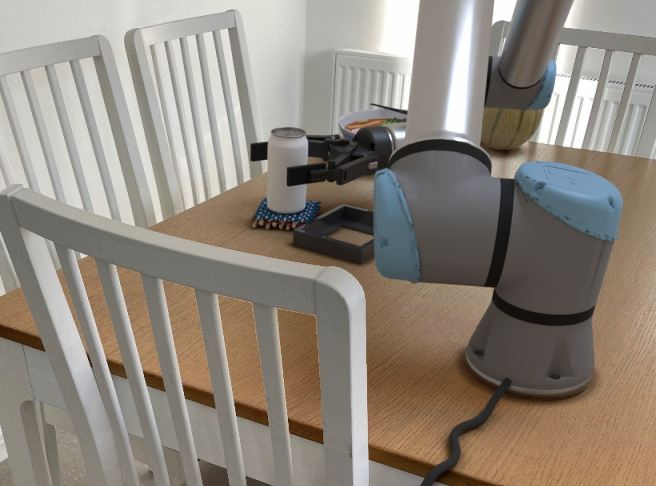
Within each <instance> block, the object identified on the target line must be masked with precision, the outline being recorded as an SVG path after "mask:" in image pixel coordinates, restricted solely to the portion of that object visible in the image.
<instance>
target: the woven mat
mask: <svg viewBox="0 0 656 486" xmlns="http://www.w3.org/2000/svg"><path fill="white" fill-rule="evenodd" d="M321 205H322V201H315V200H312V199H310V200H306V204H305V208H304V209H303V210H302V211H301V212H299V213H295V214H279V213H275V212H273V211H271V210H270V209H269V208H268V207H267V196H266V197H263V199H262V201H261V202H260V204H259V205H258V208H257V209H256V211H255V213H254V214H253V215H252V218H251V222H252V228H253V229H255V228H256V227H257V226H258V225H259V226H261V227H263V226H265V227H264V228H265V229H266V230H269V229H270V227H271V226H272V227H273V228H277V227H278V228H279V230H283V229H284V226H286V227H285V231H290V229H291V228H292V230H294V229H296V228H298V227H300V226H302V225H304V224H306V223H307V222H309V221H311V220H313V219H315V218H317V217H319V214H320V211H321V210H322V206H321Z"/></svg>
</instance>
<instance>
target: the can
mask: <svg viewBox="0 0 656 486" xmlns="http://www.w3.org/2000/svg"><path fill="white" fill-rule="evenodd" d="M306 135H307V131H306V130H304V129H302V128H301V127H293V126H280V127H274V128H272V129H271V130H270V136H269V138H268V160H266V162H267V167H266V168H267V169H266V171H267V172H266V197H267V207H268V208H269V209H270V210H271V211H273V212H275V213H279V214H295V213H299V212H301V211H302V210H303V209H304V208H305V204H306V202H307V185H308V184H303V185H296V186H289V187H288V186H287V185H286V181H287V167H292V166H300V165H307V164H308V159H309V157H308V141H307V138H306Z"/></svg>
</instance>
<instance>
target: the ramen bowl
mask: <svg viewBox="0 0 656 486" xmlns="http://www.w3.org/2000/svg"><path fill="white" fill-rule="evenodd" d="M369 105H370V106H374V107H377V108H367V109H360V110H353V111H351V112H348V113H345V114H343V115H341V116H340V118H339V119H338V120H337V124H338V128H339V130H340V132H341V135H342V137H343V138H348V139H350V141H351V140H352V139H353V138H354V136H355V135H356V133H357V131H358V130H359V129H361V128H363V127H370V126H378V125H379V126H382V125H384V124H391V123H400V122H406V121H407V112H408V109H403V108H395V107H391V106H387V105H381V104H377V103H373V102H371V103H369Z"/></svg>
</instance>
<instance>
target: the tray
mask: <svg viewBox="0 0 656 486" xmlns="http://www.w3.org/2000/svg"><path fill="white" fill-rule="evenodd" d="M316 217H317V218H315V219H313V220H311V221H309V222H307V223H306V224H304V225H302V226H299V227H297V228H295V229H293V237H292V245H293V246H297V247H300V248H304V249H307V250H311V251H314V252H318V253H321V254H325V255H327V256H331V257H336V258H339V259H341V260H346V261H349V262H353V263H357V264H360V265H362V264H364V263H365V262H367V261H369V260H371V259H373V257H375V255H374V238H372V239H370V240H369V241H367V242H365V243H363V244H362V245H358V244H354V243H351V242H347V241H343V240H340V239H337V238H333V237H329V235H331V234H332V233H334V232H336V231H338V230H340V229H341V228H346V229H349V230H353V231H354V230H355V231H358V232H361V233H366V234H368V235H369V234H370V235H373V236H374V210H369V209H367V208H362V207H358V206H354V205H350V204H347V203H342V204H340V205H338V206H336V207H334V208H331V209H330V210H328V211H326V212H324V213H323V214H321V215H318V216H316Z"/></svg>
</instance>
